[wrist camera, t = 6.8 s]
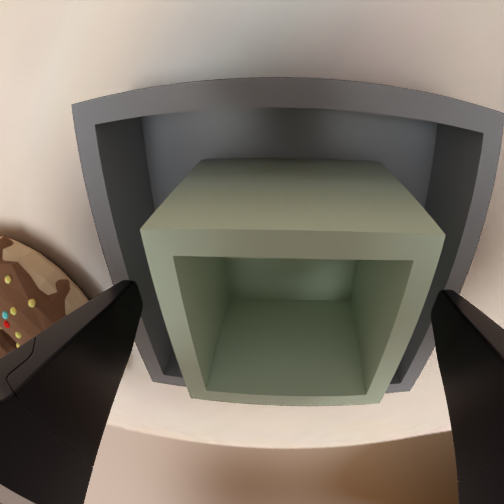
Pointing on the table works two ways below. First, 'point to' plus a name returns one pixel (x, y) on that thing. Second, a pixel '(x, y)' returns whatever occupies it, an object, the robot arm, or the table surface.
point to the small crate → (291, 278)
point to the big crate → (283, 146)
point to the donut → (31, 294)
